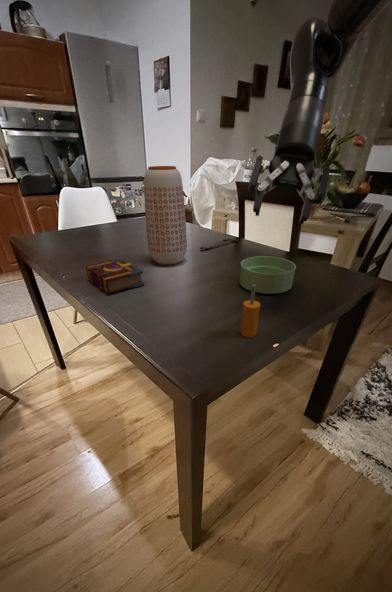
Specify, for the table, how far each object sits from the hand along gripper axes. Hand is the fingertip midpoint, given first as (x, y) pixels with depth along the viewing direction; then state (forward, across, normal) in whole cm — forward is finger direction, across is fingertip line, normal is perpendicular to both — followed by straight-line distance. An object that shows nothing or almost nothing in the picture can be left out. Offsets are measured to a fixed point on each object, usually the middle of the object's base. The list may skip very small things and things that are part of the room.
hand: (279, 217), depth 54 cm
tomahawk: (-14, -19, +60) cm, 64 cm away
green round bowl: (+5, +2, +29) cm, 29 cm away
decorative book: (+15, -42, +26) cm, 51 cm away
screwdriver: (+22, 0, +7) cm, 23 cm away
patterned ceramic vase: (+1, -32, +42) cm, 53 cm away
